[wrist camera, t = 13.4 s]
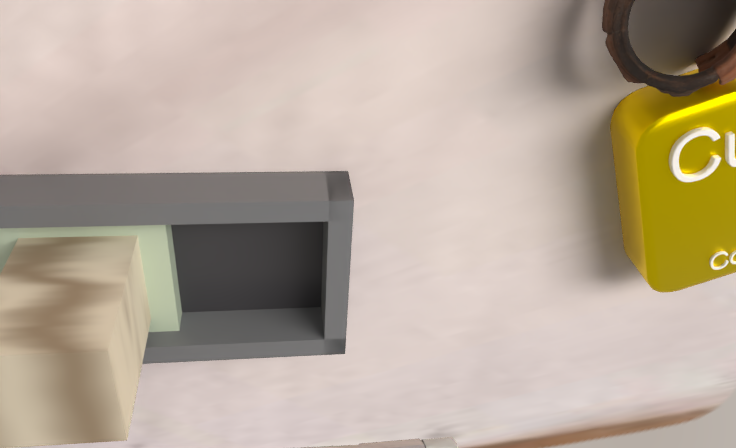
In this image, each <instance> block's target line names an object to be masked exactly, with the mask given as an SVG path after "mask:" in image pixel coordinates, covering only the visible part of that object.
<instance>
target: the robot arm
mask: <svg viewBox="0 0 736 448" xmlns="http://www.w3.org/2000/svg"><path fill="white" fill-rule="evenodd" d="M303 448H459V447H458V444H457V442H456V441H455V440H454V438H452V437H445V438H434V439H423V440H420V439H409V440H397V441H385V442H373V443H361V444H359V445H345V446H324V447H303Z"/></svg>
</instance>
